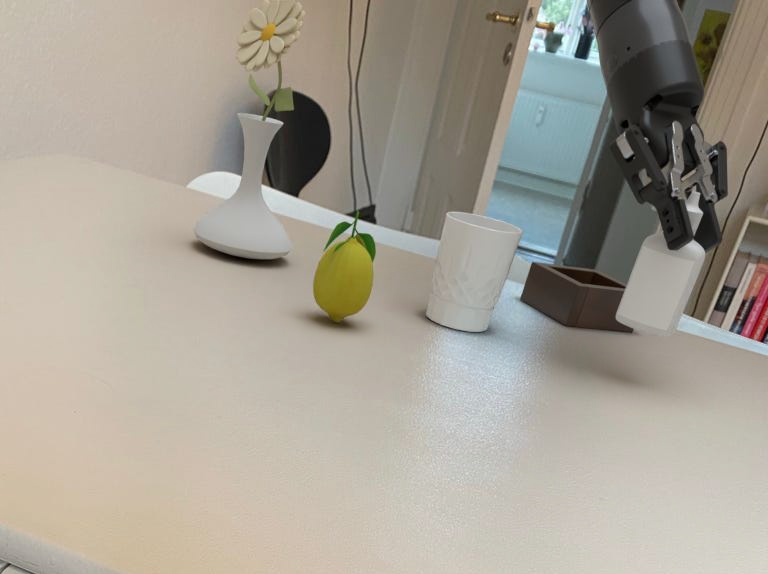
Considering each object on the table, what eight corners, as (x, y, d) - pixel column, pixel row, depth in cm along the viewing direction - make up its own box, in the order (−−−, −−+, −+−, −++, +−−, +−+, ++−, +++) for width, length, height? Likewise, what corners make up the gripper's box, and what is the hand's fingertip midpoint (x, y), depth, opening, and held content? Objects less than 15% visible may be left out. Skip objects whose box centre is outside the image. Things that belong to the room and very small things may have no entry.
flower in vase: (181, 235, 106) (209, -25, 92) (272, 246, 110) (313, -1, 96) (208, 266, 97) (245, -20, 83) (307, 277, 101) (358, 7, 87)
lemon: (308, 328, 84) (330, 212, 78) (294, 309, 89) (315, 198, 83) (375, 336, 86) (402, 224, 80) (358, 317, 90) (383, 210, 85)
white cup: (409, 306, 98) (434, 207, 92) (473, 314, 101) (501, 218, 95) (437, 330, 92) (466, 225, 86) (504, 338, 95) (537, 236, 89)
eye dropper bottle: (645, 337, 84) (700, 197, 77) (607, 317, 88) (656, 182, 81) (680, 339, 86) (737, 202, 79) (641, 319, 90) (692, 187, 83)
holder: (584, 306, 116) (597, 269, 113) (632, 332, 108) (647, 293, 106) (519, 299, 112) (531, 261, 109) (565, 326, 104) (579, 285, 102)
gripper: (629, 23, 75) (682, 217, 74) (732, 50, 82) (781, 228, 81) (563, 85, 82) (610, 265, 81) (664, 106, 89) (708, 272, 88)
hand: (696, 246), depth 81 cm, fingers closed on eye dropper bottle, 3 cm apart
